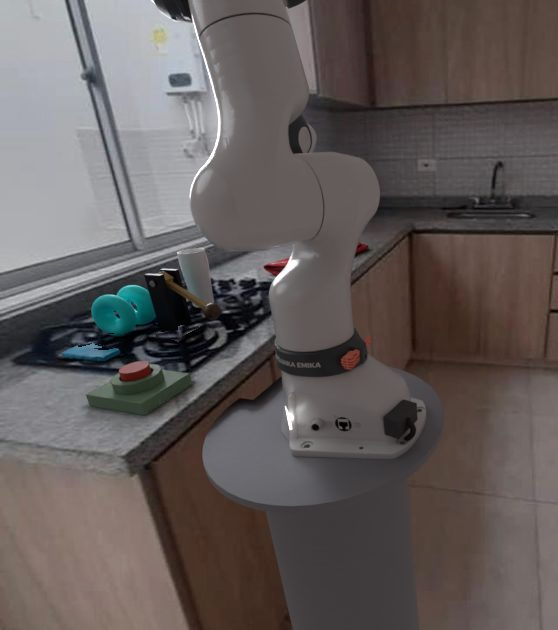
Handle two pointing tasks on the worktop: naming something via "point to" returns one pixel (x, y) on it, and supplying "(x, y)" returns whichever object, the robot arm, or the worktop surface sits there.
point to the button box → (140, 391)
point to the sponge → (90, 353)
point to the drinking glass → (196, 273)
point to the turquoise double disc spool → (123, 310)
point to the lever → (193, 298)
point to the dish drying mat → (280, 265)
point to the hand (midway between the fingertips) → (249, 232)
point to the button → (135, 371)
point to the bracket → (168, 305)
